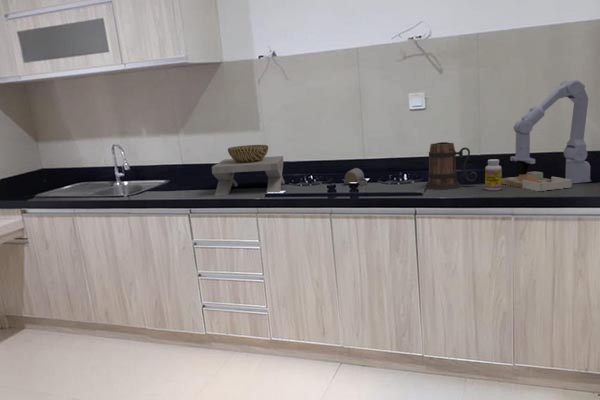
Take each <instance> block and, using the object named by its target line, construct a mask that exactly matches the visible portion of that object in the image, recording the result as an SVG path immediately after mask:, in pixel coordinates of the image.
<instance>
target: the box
mask: <svg viewBox="0 0 600 400" xmlns="http://www.w3.org/2000/svg"><path fill="white" fill-rule="evenodd" d="M550 179H551V182H547V183H537V182H532V181H527V180H522V188H521V189H524V188H525V190H529V189H530V190H531V191H534V190H535V192H538V191H544V192H547V191H546V190H553V191H555V190H554V189H561V190H564V189H563V188H569V189H571V188H570V187H572V186H573V183H572V180H570V179H566V178H563V177H558V176H557V177H556V176H551V178H550ZM572 188H573V187H572Z"/></svg>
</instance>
